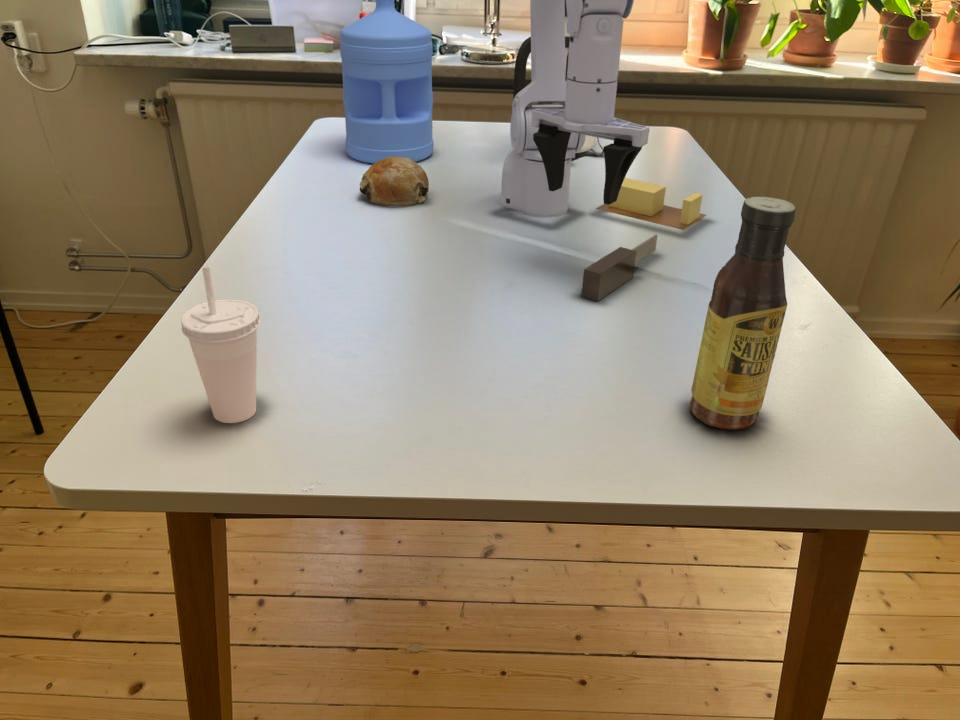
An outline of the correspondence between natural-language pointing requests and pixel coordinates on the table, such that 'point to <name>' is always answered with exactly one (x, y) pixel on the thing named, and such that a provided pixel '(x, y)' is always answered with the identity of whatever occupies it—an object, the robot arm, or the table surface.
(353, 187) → the table surface
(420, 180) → the bread roll
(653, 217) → the cutting board
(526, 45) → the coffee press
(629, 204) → the butter block
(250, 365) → the smoothie
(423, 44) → the water jug
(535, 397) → the table surface
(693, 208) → the butter slice
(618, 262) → the knife
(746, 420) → the sauce bottle
